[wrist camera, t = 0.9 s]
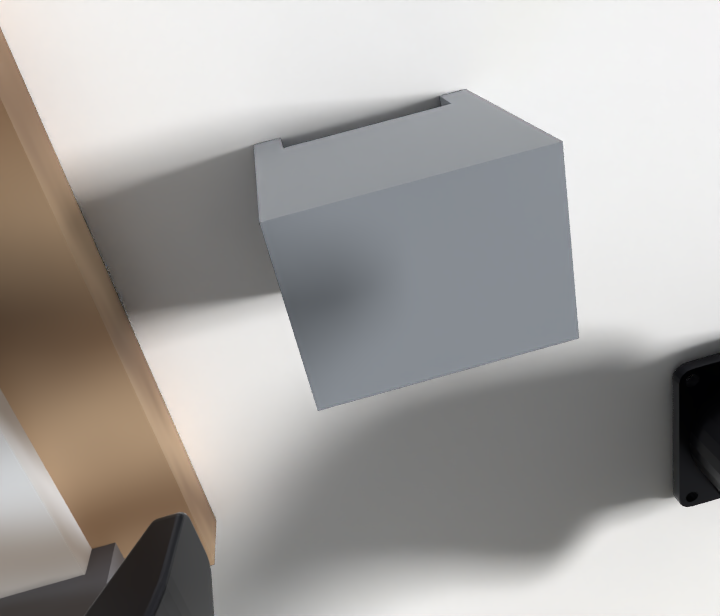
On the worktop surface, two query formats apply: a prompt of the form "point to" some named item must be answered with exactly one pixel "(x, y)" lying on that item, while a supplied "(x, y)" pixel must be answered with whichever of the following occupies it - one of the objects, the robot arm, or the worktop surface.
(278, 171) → the block
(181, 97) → the worktop surface
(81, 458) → the rail board
